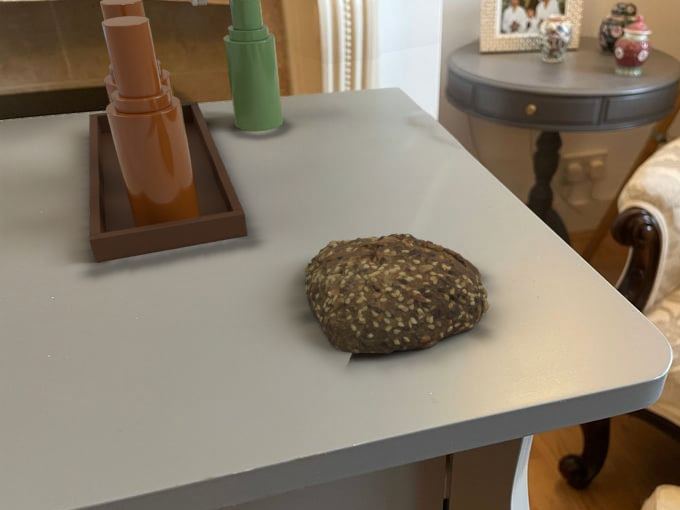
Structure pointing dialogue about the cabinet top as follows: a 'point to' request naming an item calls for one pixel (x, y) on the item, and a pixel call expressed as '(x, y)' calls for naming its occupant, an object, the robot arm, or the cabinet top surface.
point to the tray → (127, 241)
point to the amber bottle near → (148, 128)
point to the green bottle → (252, 68)
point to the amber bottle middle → (120, 4)
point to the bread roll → (393, 293)
